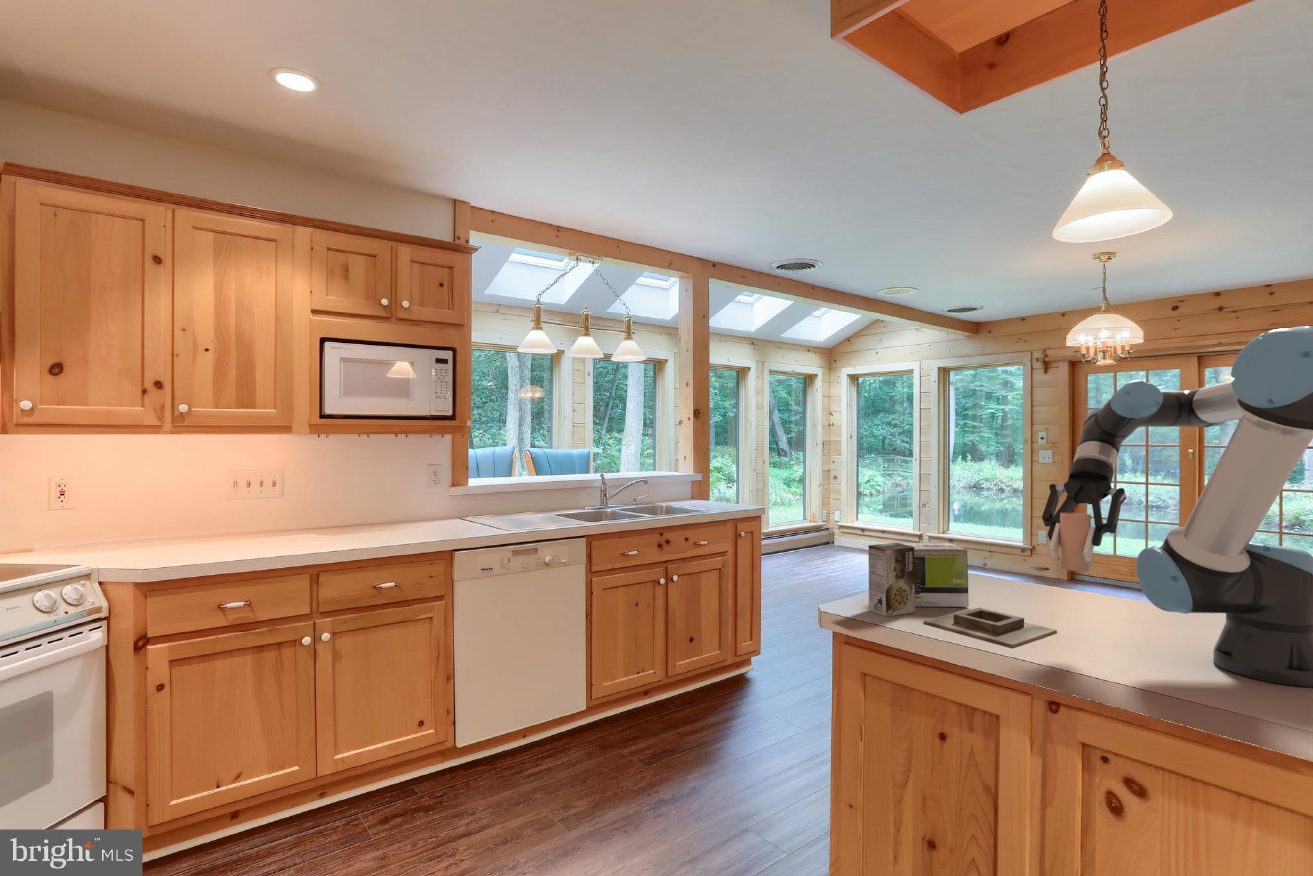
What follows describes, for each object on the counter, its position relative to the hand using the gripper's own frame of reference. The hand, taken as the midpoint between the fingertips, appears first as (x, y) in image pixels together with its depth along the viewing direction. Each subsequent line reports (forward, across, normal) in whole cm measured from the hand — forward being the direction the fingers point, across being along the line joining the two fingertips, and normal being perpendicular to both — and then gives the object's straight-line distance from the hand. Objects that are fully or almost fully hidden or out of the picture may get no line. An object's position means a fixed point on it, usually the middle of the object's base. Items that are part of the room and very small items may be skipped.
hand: (1069, 554), depth 124 cm
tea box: (+3, +35, -26) cm, 43 cm away
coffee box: (+14, +37, -14) cm, 42 cm away
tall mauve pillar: (0, 0, -5) cm, 5 cm away
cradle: (+11, +16, -16) cm, 26 cm away
